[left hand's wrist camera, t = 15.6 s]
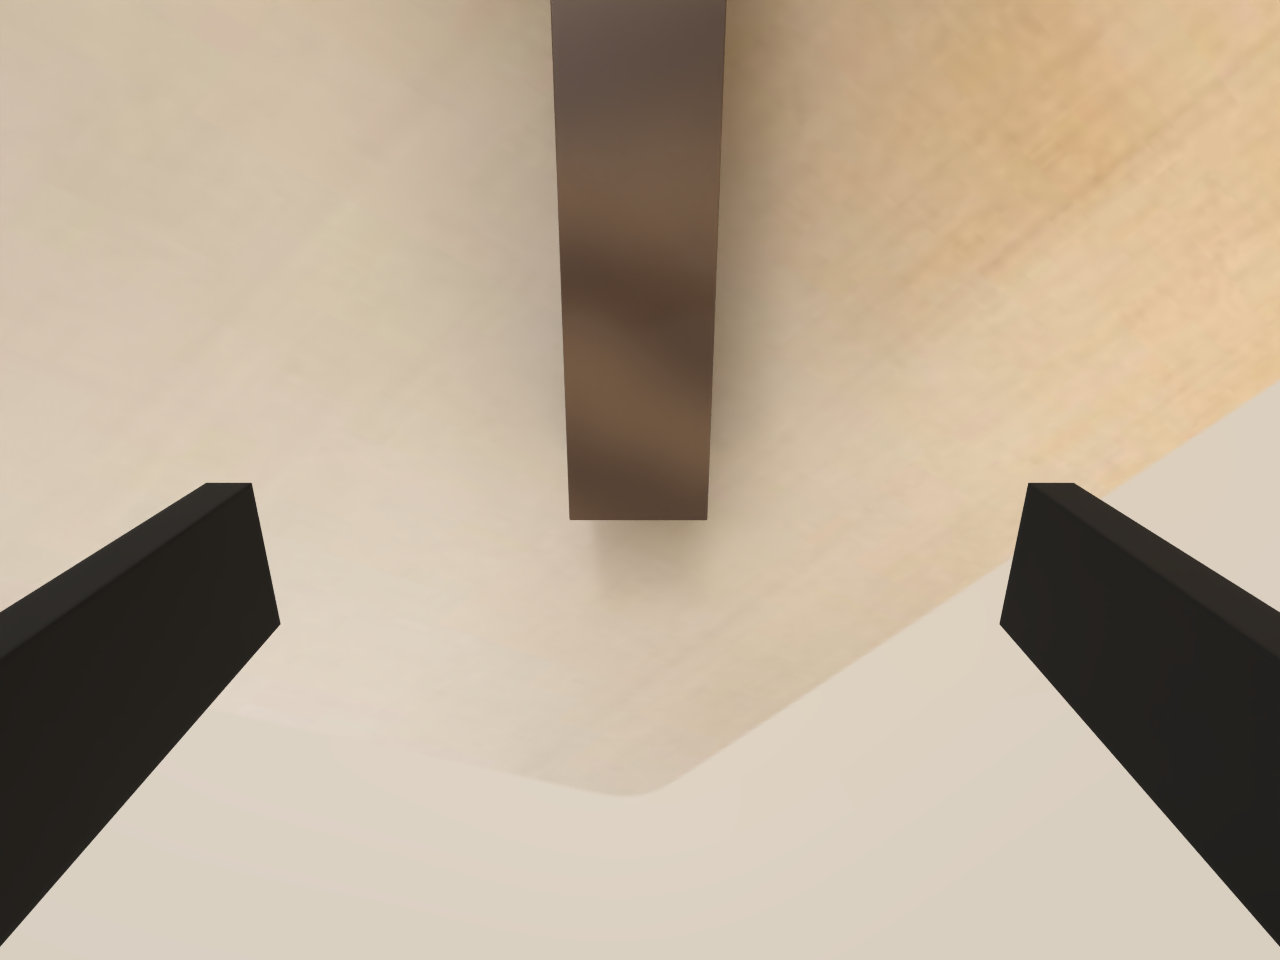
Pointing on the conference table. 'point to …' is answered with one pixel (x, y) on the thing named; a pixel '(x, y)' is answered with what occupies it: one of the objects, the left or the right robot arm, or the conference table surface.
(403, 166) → the conference table surface
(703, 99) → the beam
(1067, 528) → the left robot arm
